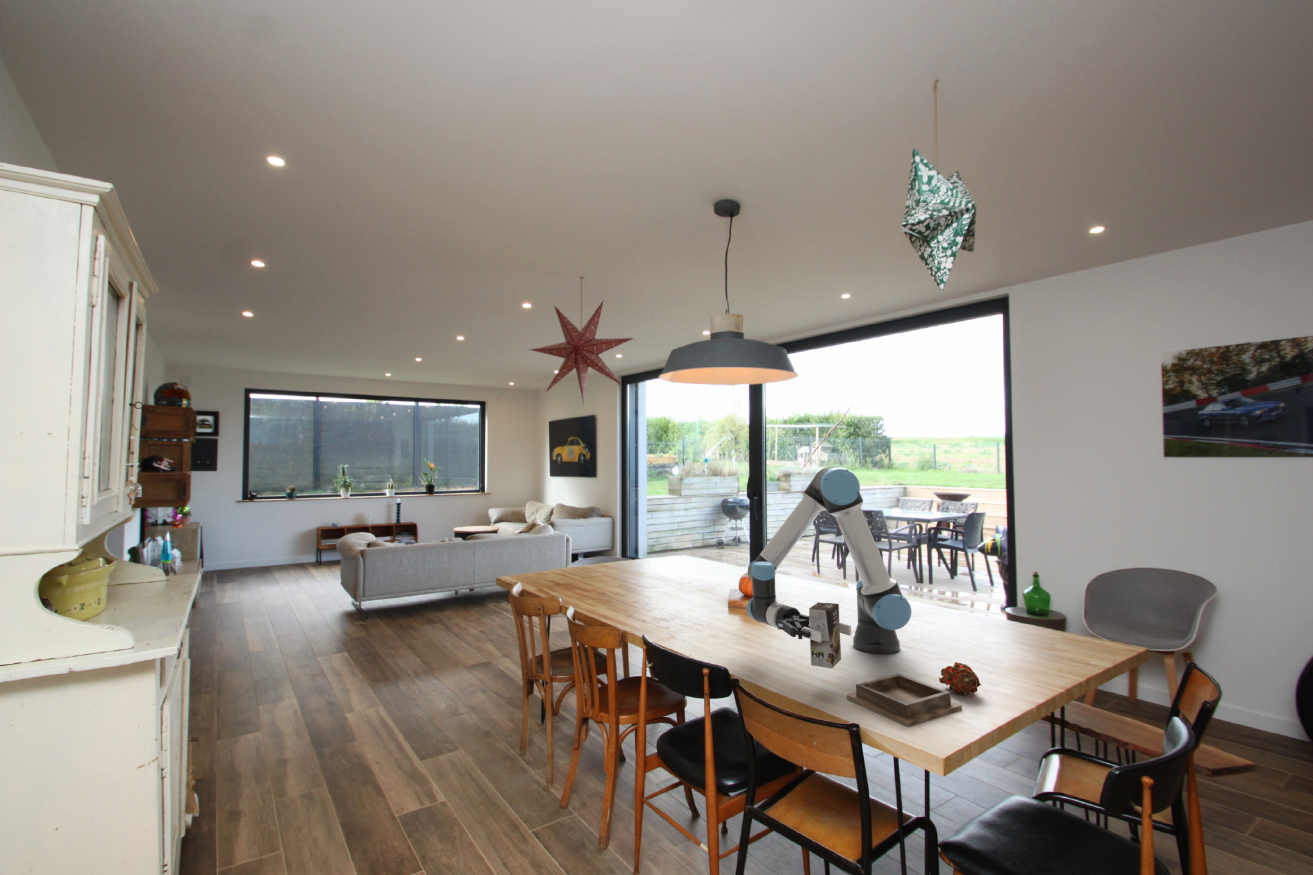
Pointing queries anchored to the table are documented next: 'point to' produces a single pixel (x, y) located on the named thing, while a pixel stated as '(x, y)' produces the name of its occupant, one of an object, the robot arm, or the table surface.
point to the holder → (904, 699)
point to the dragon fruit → (960, 678)
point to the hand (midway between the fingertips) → (835, 633)
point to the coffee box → (825, 635)
